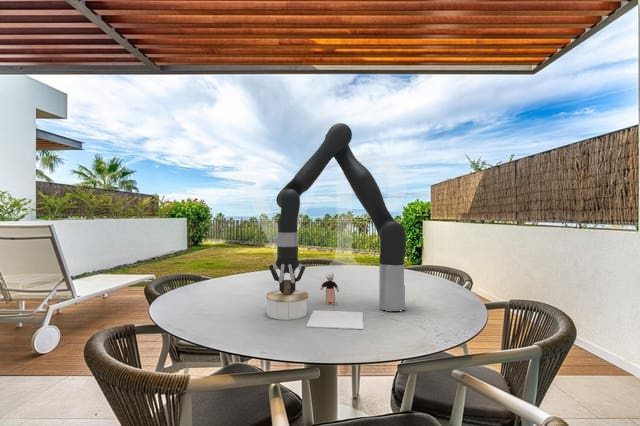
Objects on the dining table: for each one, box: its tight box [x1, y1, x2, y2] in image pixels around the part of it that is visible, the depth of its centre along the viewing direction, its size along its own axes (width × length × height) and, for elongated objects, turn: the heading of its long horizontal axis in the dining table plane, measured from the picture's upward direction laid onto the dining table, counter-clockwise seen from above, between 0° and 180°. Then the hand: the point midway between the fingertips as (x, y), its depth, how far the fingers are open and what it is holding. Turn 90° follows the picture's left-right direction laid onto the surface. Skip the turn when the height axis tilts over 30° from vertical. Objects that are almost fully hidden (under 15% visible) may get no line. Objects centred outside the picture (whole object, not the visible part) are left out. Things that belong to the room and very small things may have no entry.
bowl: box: [266, 298, 308, 321], centre depth 123 cm, size 14×14×6 cm
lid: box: [266, 279, 309, 302], centre depth 123 cm, size 15×15×6 cm
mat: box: [305, 310, 364, 330], centre depth 116 cm, size 18×18×1 cm
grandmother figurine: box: [319, 271, 340, 306], centre depth 138 cm, size 8×4×13 cm, turn 84°
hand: (287, 292), depth 123 cm, fingers closed on lid, 3 cm apart
